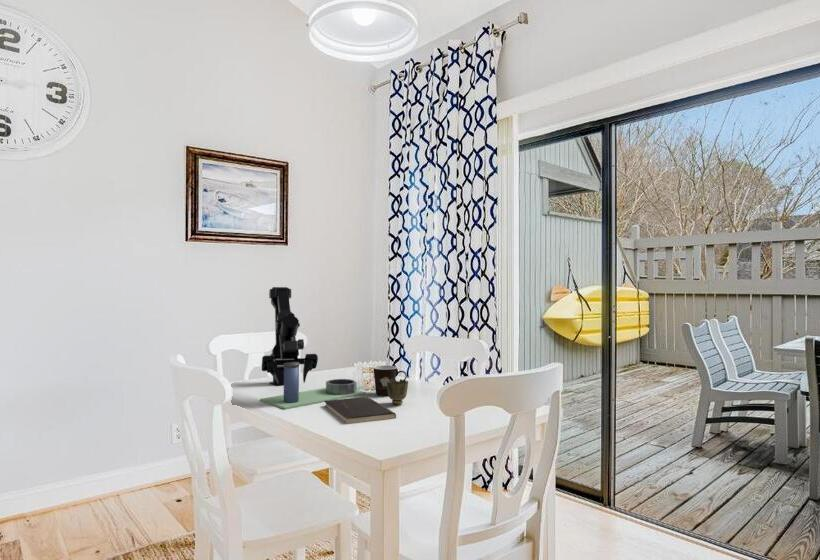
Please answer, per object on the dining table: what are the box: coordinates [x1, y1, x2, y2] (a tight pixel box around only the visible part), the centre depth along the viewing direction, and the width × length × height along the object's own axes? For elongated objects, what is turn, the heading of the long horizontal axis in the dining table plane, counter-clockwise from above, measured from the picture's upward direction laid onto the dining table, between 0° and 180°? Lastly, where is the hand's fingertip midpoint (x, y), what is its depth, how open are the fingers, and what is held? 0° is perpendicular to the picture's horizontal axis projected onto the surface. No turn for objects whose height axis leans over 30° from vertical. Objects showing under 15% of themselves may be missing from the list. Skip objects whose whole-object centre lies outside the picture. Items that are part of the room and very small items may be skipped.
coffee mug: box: [373, 364, 408, 398], centre depth 192 cm, size 12×9×10 cm
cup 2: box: [387, 378, 409, 406], centre depth 178 cm, size 8×7×8 cm
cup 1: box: [325, 378, 358, 395], centre depth 194 cm, size 11×11×4 cm
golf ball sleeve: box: [283, 362, 300, 403], centre depth 177 cm, size 5×5×13 cm
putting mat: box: [259, 387, 367, 410], centre depth 187 cm, size 16×34×1 cm, turn 135°
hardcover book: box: [323, 396, 397, 424], centre depth 168 cm, size 16×23×2 cm
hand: (291, 382), depth 176 cm, fingers open, 8 cm apart
